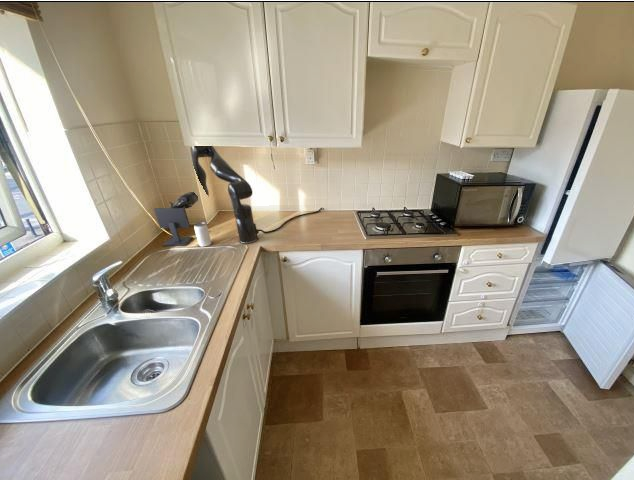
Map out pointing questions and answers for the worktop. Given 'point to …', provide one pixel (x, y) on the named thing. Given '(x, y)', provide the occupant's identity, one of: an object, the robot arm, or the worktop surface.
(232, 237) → the worktop surface
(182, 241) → the monitor stand
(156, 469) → the worktop surface
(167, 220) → the screen
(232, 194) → the robot arm
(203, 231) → the can
